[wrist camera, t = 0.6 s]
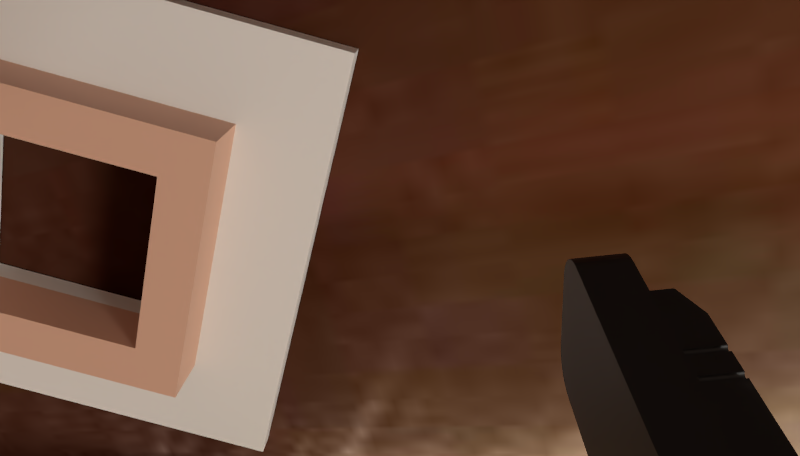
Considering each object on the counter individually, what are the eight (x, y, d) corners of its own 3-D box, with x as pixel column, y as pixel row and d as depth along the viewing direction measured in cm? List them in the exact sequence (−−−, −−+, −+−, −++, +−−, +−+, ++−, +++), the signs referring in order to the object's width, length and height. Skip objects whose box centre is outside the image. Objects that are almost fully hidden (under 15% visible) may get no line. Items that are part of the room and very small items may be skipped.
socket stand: (-143, -92, 28) (-223, -92, 25) (358, 48, 28) (344, 65, 25) (-123, 335, 36) (-181, 376, 33) (268, 438, 37) (248, 488, 33)
